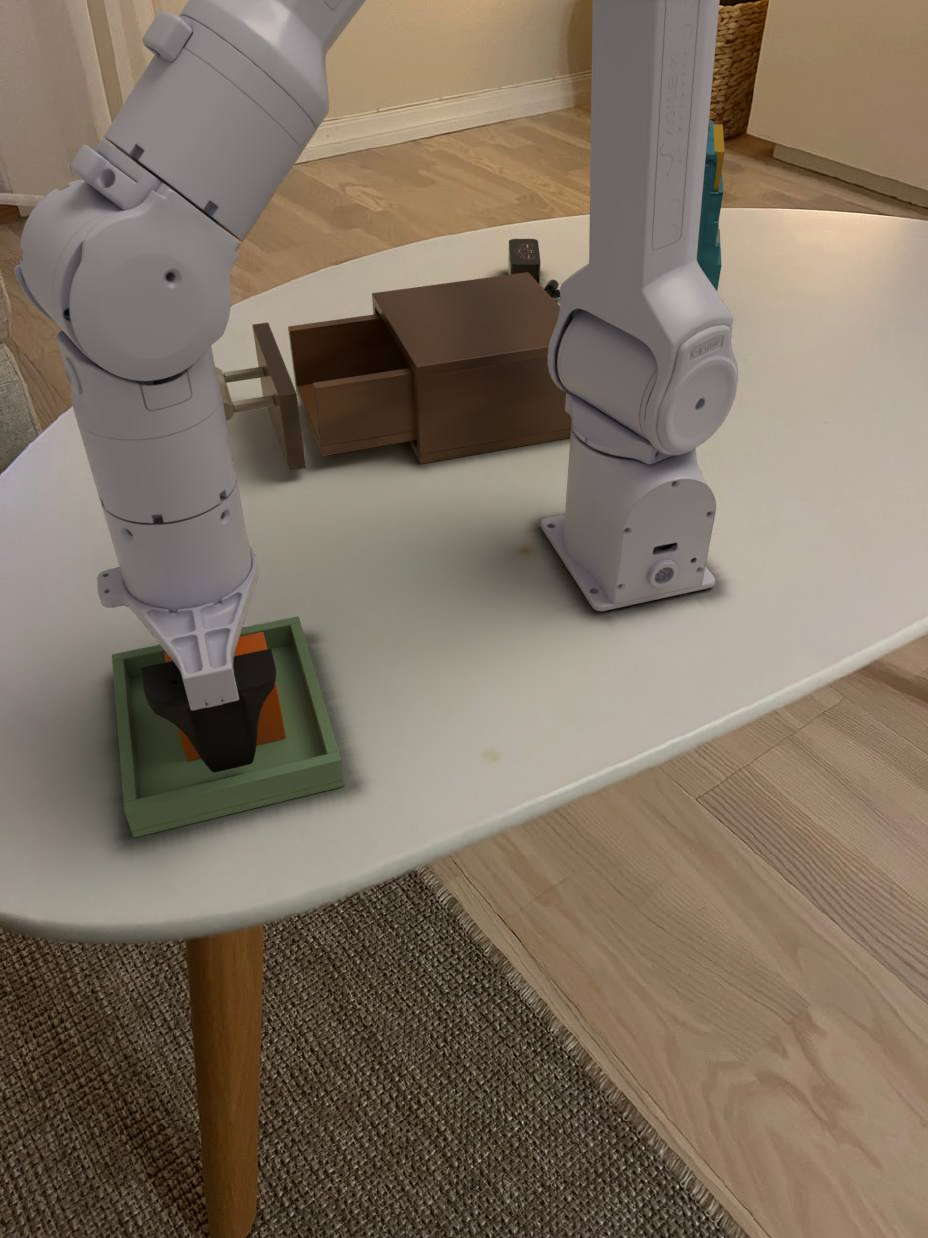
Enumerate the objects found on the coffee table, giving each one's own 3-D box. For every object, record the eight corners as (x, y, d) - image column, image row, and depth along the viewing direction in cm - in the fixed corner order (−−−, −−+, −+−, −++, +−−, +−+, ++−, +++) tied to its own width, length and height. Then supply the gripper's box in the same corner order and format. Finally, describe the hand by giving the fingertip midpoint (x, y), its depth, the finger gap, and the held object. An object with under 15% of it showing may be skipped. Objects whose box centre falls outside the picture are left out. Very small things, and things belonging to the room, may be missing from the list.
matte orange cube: (286, 739, 52) (276, 683, 49) (187, 762, 51) (171, 706, 48) (273, 686, 55) (263, 631, 52) (179, 707, 54) (164, 651, 51)
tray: (345, 786, 50) (341, 759, 49) (133, 838, 48) (124, 811, 47) (302, 641, 58) (298, 615, 57) (119, 680, 56) (111, 653, 55)
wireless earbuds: (509, 302, 93) (510, 268, 91) (507, 271, 99) (508, 238, 96) (560, 302, 93) (562, 267, 91) (555, 271, 98) (557, 238, 96)
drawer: (228, 481, 69) (214, 406, 66) (208, 403, 78) (194, 332, 74) (447, 444, 73) (446, 370, 69) (406, 372, 81) (402, 303, 77)
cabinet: (420, 464, 72) (416, 366, 68) (377, 383, 82) (371, 292, 77) (583, 435, 75) (591, 339, 70) (524, 361, 84) (528, 271, 79)
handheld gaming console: (663, 292, 95) (685, 118, 85) (708, 294, 94) (736, 121, 84) (661, 338, 87) (685, 154, 78) (709, 341, 87) (740, 157, 77)
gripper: (67, 418, 47) (132, 635, 56) (75, 610, 37) (153, 838, 46) (219, 395, 49) (258, 609, 58) (268, 572, 39) (307, 800, 47)
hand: (221, 708), depth 52 cm, fingers open, 7 cm apart
